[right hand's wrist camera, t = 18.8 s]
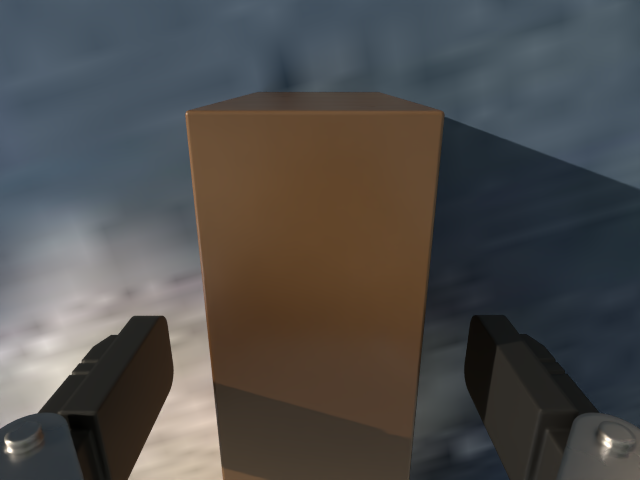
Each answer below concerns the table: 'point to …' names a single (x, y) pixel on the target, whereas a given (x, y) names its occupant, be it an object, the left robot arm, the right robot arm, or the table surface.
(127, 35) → the table surface
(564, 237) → the table surface
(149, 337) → the right robot arm
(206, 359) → the table surface
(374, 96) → the post
